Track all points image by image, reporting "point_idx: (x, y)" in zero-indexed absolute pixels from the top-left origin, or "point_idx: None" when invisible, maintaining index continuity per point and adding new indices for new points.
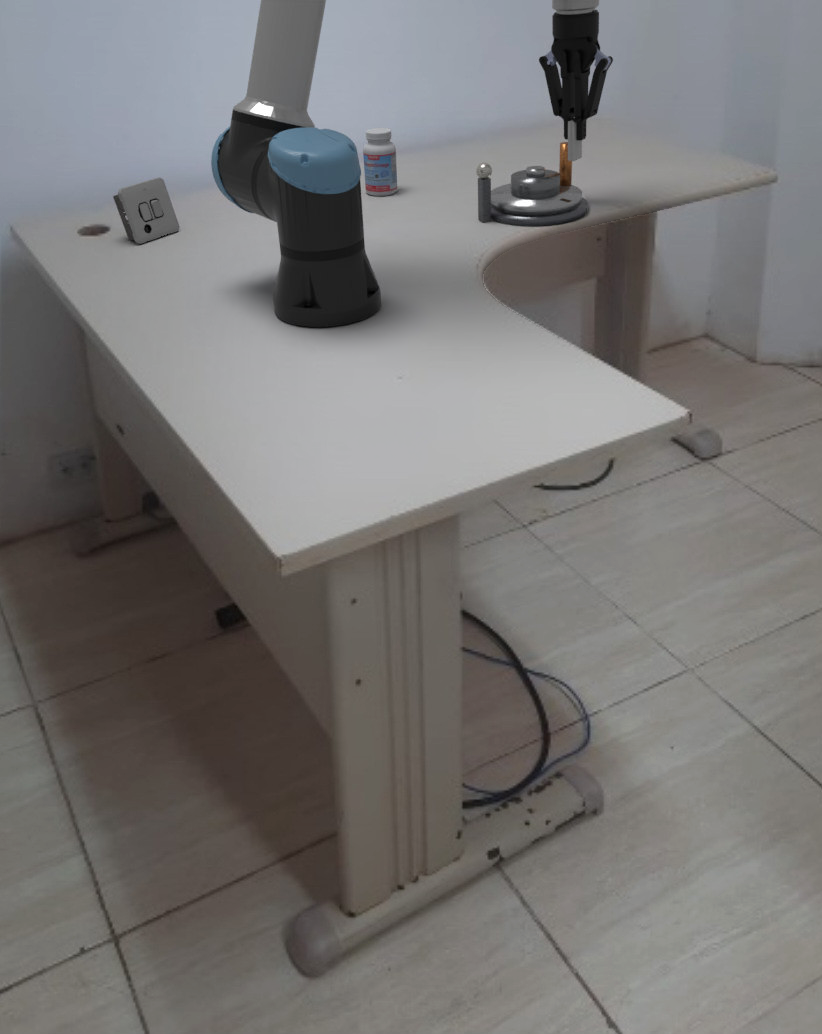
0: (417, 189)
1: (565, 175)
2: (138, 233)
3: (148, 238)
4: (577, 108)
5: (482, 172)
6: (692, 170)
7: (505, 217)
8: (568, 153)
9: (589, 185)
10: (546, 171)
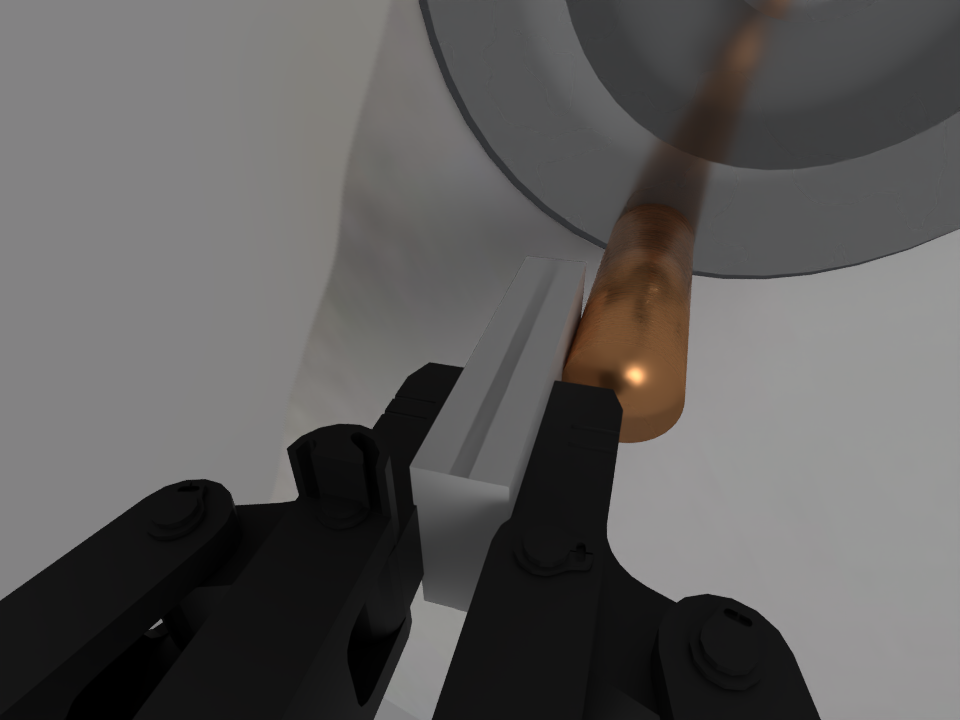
0: None
1: (627, 232)
2: None
3: None
4: (277, 624)
5: None
6: (412, 631)
7: None
8: (570, 286)
9: (647, 472)
10: (750, 105)
